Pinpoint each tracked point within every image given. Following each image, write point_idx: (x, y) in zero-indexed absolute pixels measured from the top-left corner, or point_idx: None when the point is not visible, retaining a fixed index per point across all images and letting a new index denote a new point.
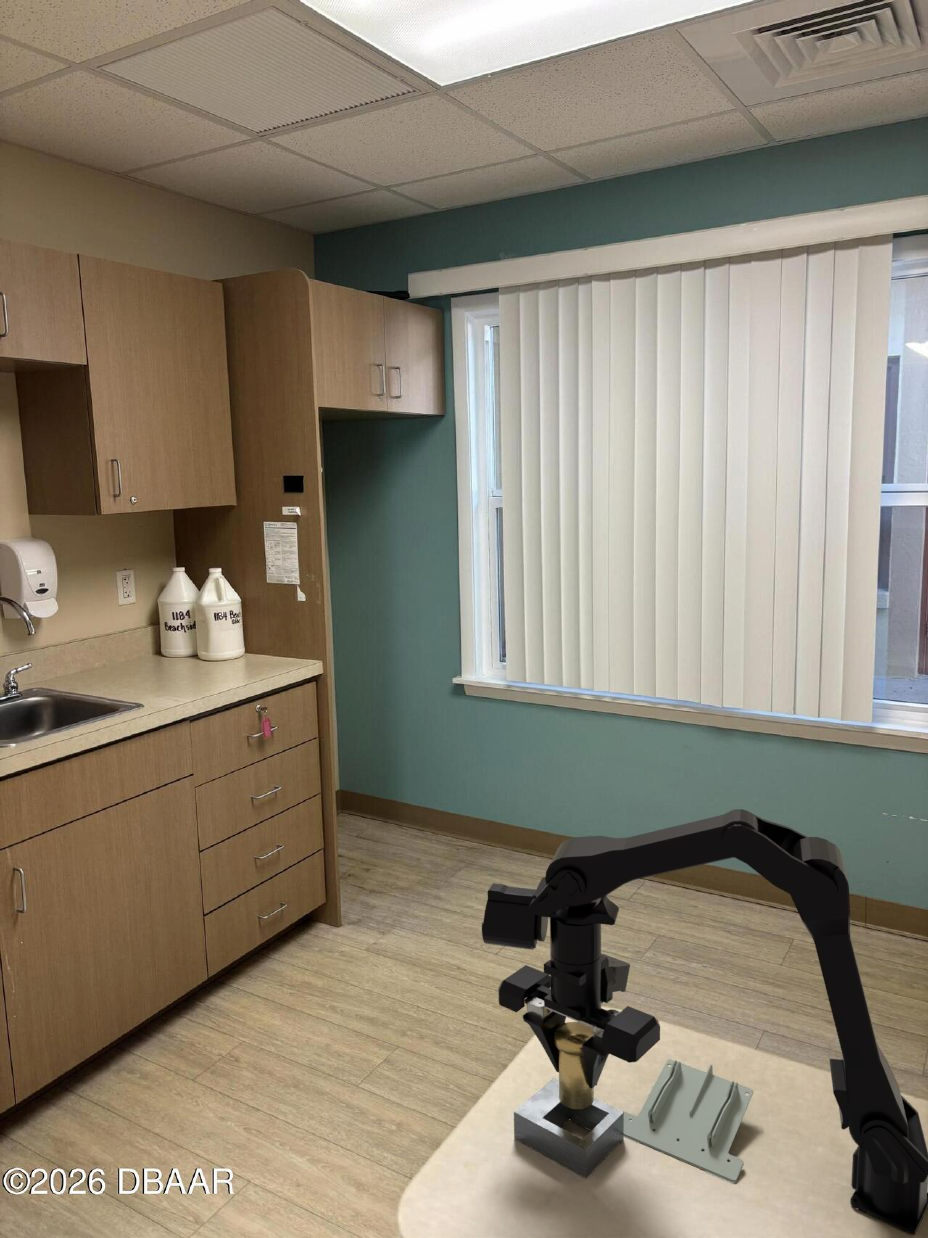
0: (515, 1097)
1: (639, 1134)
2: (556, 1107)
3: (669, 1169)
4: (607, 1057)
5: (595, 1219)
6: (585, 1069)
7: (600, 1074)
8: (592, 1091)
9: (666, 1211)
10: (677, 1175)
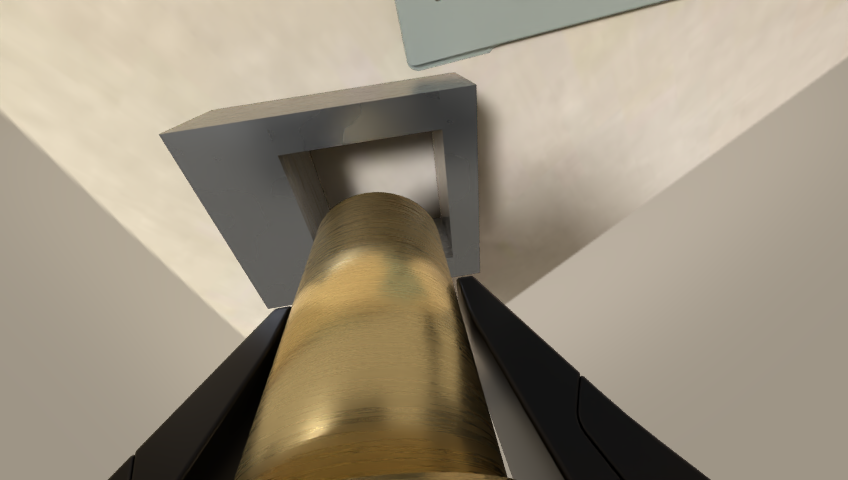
0: (135, 173)
1: (489, 26)
2: (306, 218)
3: (601, 72)
4: (596, 388)
5: (525, 274)
6: (500, 440)
7: (503, 306)
8: (445, 257)
9: (627, 181)
10: (625, 74)
